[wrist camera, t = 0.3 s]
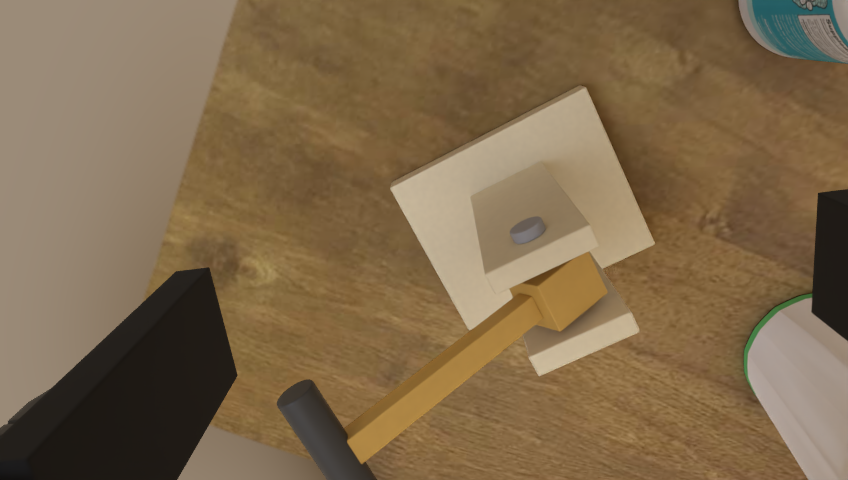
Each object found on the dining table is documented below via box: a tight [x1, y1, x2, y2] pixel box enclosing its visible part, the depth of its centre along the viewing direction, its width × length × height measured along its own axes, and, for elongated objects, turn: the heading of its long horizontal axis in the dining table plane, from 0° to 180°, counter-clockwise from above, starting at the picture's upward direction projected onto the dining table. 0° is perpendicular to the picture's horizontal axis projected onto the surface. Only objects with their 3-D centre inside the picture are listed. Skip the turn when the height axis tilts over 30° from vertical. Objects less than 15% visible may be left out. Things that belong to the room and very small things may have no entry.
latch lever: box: [277, 252, 608, 480], centre depth 25 cm, size 13×6×2 cm, turn 118°
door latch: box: [390, 85, 655, 376], centre depth 32 cm, size 12×10×14 cm
